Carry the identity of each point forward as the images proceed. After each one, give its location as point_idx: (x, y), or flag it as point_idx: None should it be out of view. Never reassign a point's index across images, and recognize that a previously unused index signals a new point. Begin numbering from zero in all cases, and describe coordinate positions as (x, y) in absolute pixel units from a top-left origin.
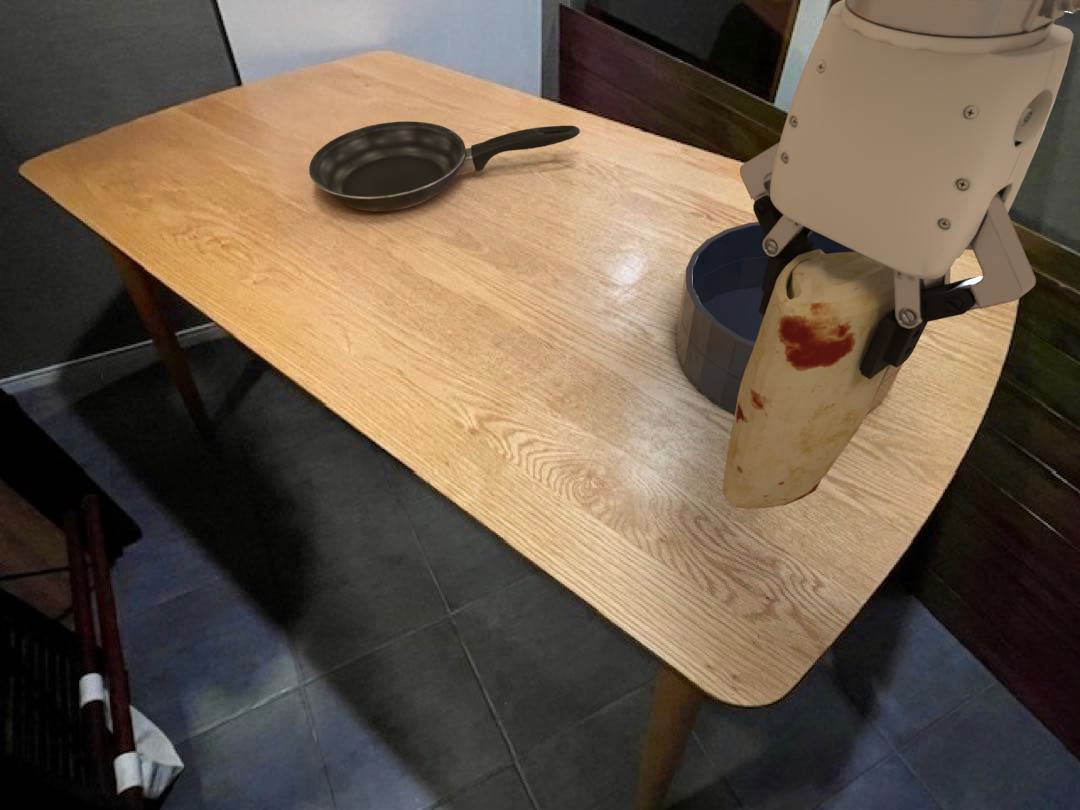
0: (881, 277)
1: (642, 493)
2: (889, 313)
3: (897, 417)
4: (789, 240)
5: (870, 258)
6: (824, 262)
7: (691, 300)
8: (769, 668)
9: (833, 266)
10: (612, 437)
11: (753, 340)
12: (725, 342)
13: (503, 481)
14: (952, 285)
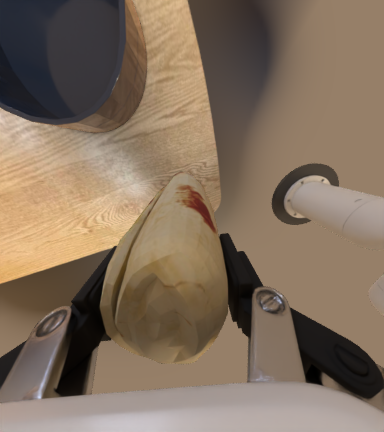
0: (207, 339)
1: (142, 194)
2: (233, 314)
3: (155, 29)
4: (92, 381)
5: (157, 301)
6: (135, 332)
7: (24, 118)
8: (215, 198)
9: (144, 322)
10: (111, 188)
11: (61, 64)
12: (74, 124)
13: (117, 231)
14: (313, 362)
